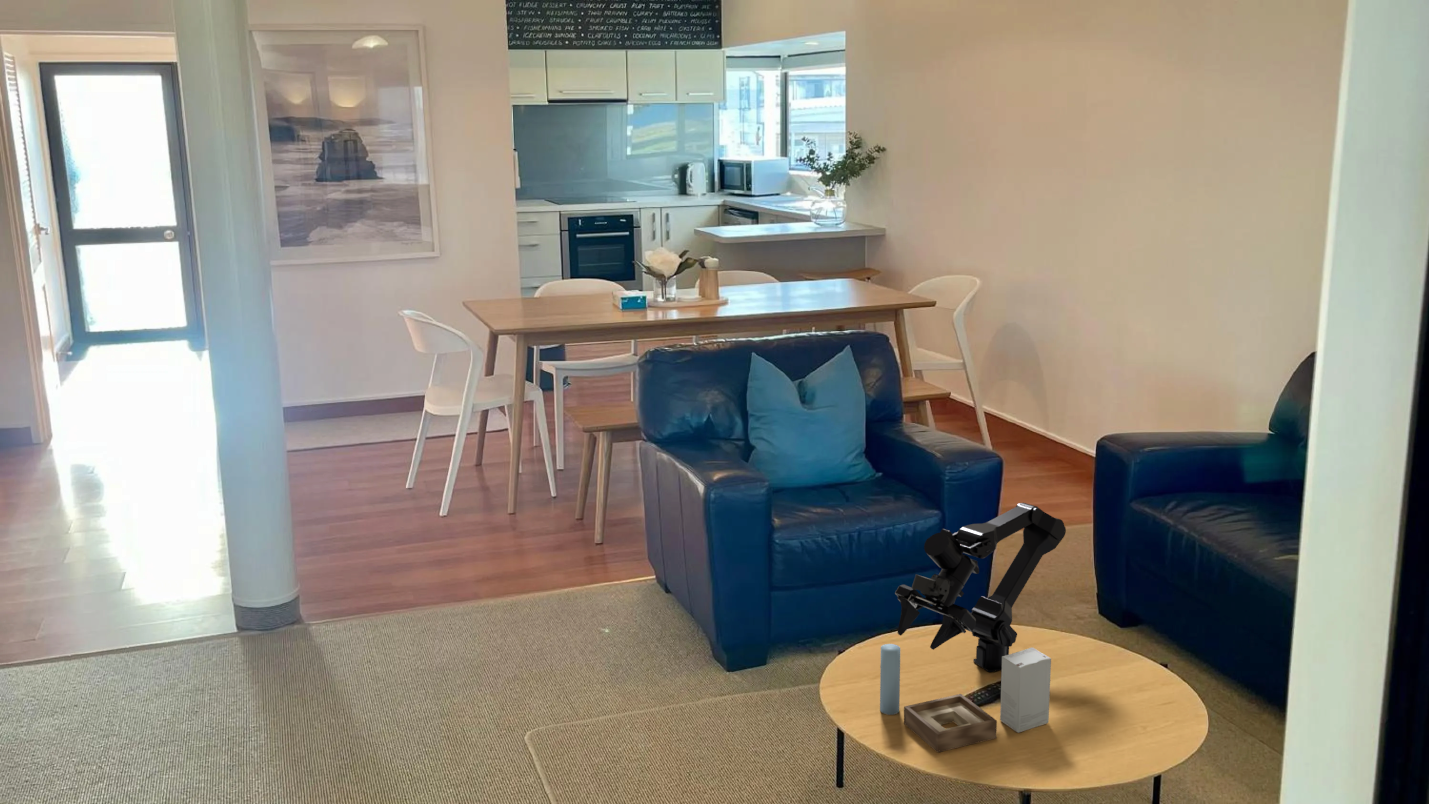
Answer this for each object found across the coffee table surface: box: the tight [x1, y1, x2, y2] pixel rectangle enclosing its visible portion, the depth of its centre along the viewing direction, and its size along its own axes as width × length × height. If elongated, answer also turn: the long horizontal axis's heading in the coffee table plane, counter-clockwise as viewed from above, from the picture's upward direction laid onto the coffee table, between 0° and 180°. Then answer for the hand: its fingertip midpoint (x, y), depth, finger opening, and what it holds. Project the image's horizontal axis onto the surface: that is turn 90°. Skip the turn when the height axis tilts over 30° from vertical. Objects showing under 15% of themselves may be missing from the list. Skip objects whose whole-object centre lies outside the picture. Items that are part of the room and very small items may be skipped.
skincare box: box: [999, 647, 1052, 733], centre depth 238 cm, size 8×6×15 cm
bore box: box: [903, 693, 998, 753], centre depth 237 cm, size 14×13×4 cm
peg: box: [879, 643, 901, 716], centre depth 244 cm, size 4×4×14 cm
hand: (915, 641), depth 247 cm, fingers open, 9 cm apart
